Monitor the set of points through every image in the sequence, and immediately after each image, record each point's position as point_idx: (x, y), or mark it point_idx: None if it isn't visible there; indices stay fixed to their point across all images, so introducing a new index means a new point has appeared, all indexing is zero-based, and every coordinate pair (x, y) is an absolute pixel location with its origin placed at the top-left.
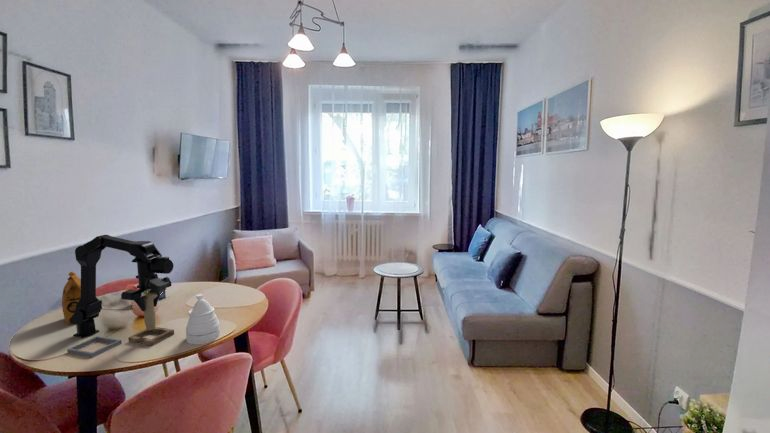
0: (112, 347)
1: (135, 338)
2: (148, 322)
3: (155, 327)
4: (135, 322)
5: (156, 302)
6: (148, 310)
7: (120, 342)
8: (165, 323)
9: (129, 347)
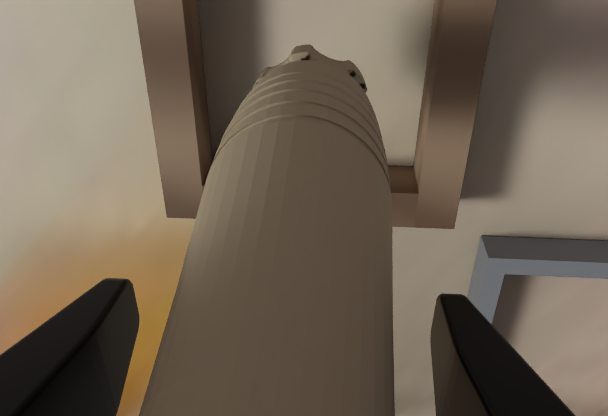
0: (572, 240)
1: (465, 142)
2: (375, 123)
3: (172, 158)
4: (130, 409)
5: (57, 341)
6: (373, 251)
7: (492, 245)
8: (8, 195)
9: (556, 99)
